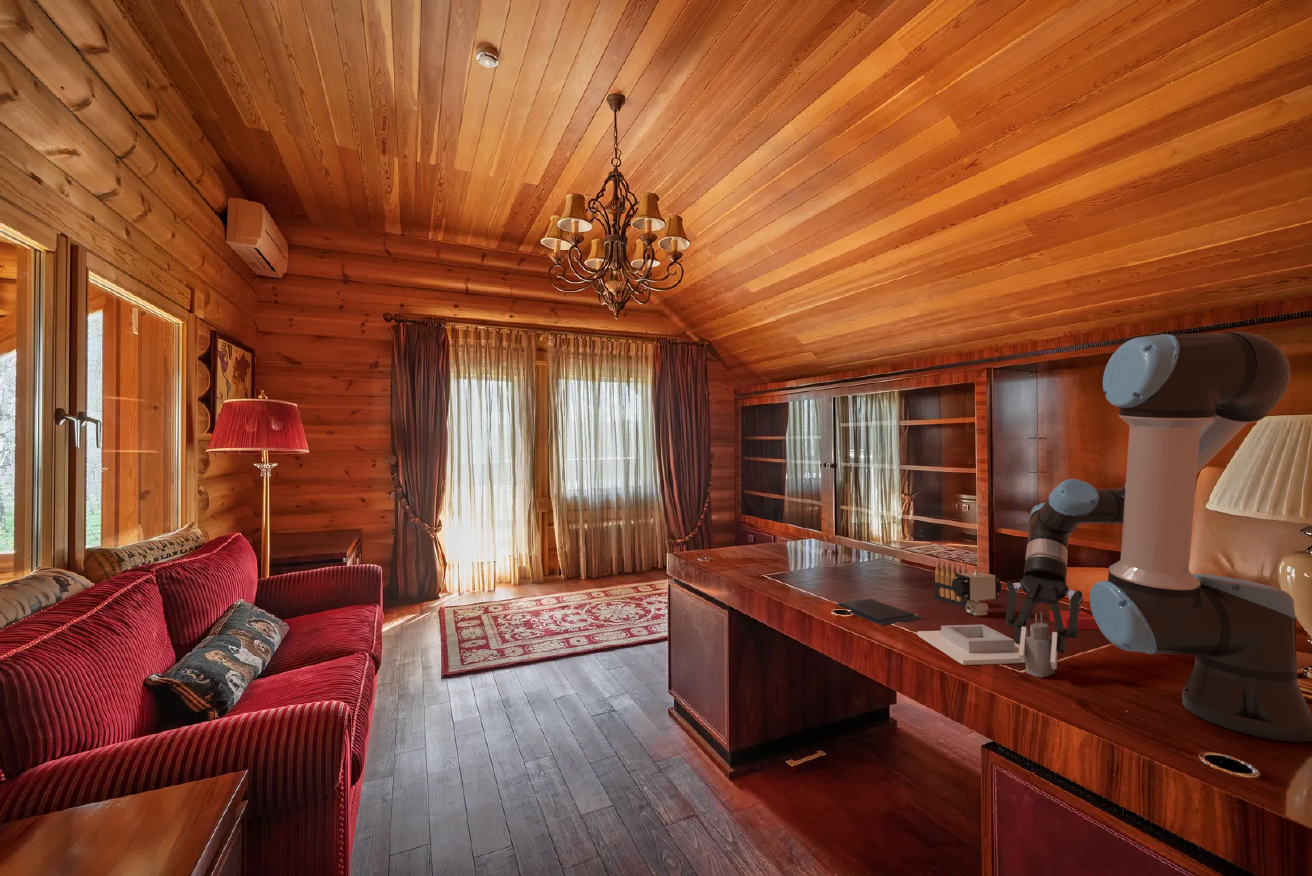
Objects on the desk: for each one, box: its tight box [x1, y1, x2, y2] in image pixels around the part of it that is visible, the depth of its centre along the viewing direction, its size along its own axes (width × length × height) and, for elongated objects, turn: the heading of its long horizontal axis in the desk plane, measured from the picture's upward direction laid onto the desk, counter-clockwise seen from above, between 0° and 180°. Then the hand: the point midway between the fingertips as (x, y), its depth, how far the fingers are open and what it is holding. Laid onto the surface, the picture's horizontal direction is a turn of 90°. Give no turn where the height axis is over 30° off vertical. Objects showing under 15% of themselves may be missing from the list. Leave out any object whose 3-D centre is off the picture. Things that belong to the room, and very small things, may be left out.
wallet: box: [835, 598, 926, 627], centre depth 150 cm, size 20×2×15 cm
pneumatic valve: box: [952, 569, 1002, 617], centre depth 148 cm, size 6×12×12 cm, turn 98°
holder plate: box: [916, 624, 1026, 666], centre depth 123 cm, size 18×18×4 cm
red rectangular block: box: [1049, 605, 1101, 631], centre depth 138 cm, size 8×7×6 cm
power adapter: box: [1025, 612, 1056, 678], centre depth 109 cm, size 3×5×12 cm, turn 115°
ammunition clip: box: [933, 558, 971, 608], centre depth 159 cm, size 11×2×12 cm, turn 24°
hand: (1037, 662), depth 106 cm, fingers closed on power adapter, 4 cm apart
